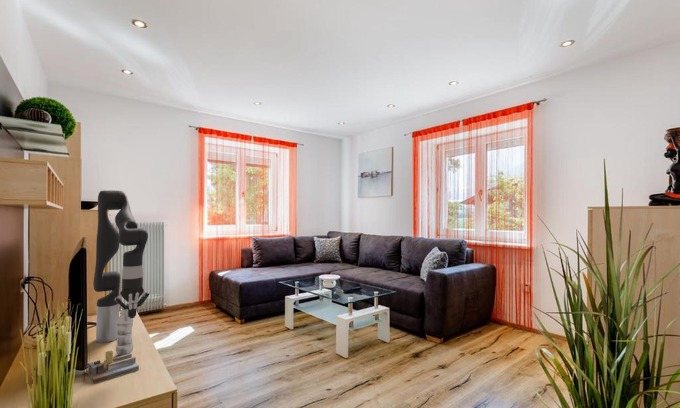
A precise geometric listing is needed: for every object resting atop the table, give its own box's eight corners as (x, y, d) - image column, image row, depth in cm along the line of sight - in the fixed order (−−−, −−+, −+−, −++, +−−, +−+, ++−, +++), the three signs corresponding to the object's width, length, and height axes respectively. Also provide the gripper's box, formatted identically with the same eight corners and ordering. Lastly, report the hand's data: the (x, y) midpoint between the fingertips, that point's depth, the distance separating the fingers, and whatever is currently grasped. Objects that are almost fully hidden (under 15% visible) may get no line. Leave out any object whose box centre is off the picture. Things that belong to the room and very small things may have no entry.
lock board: (84, 371, 134) (84, 360, 134) (127, 358, 145) (127, 348, 145) (93, 383, 125) (94, 371, 125) (138, 369, 136) (139, 358, 136)
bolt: (94, 369, 132) (94, 354, 132) (112, 364, 136) (112, 349, 136) (96, 372, 130) (96, 356, 130) (114, 367, 134) (114, 351, 134)
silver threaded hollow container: (124, 358, 146) (125, 311, 146) (111, 356, 147) (112, 310, 148) (136, 352, 152) (137, 307, 153) (124, 350, 154) (124, 306, 154)
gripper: (146, 272, 148) (145, 312, 148) (111, 277, 138) (110, 319, 138) (153, 275, 143) (152, 316, 143) (117, 280, 133) (116, 323, 133)
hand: (131, 317), depth 140 cm, fingers closed
